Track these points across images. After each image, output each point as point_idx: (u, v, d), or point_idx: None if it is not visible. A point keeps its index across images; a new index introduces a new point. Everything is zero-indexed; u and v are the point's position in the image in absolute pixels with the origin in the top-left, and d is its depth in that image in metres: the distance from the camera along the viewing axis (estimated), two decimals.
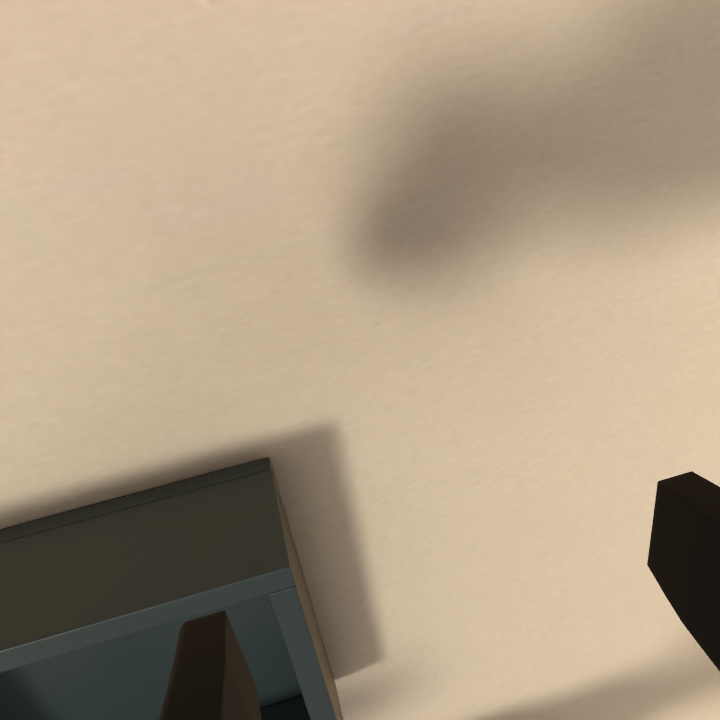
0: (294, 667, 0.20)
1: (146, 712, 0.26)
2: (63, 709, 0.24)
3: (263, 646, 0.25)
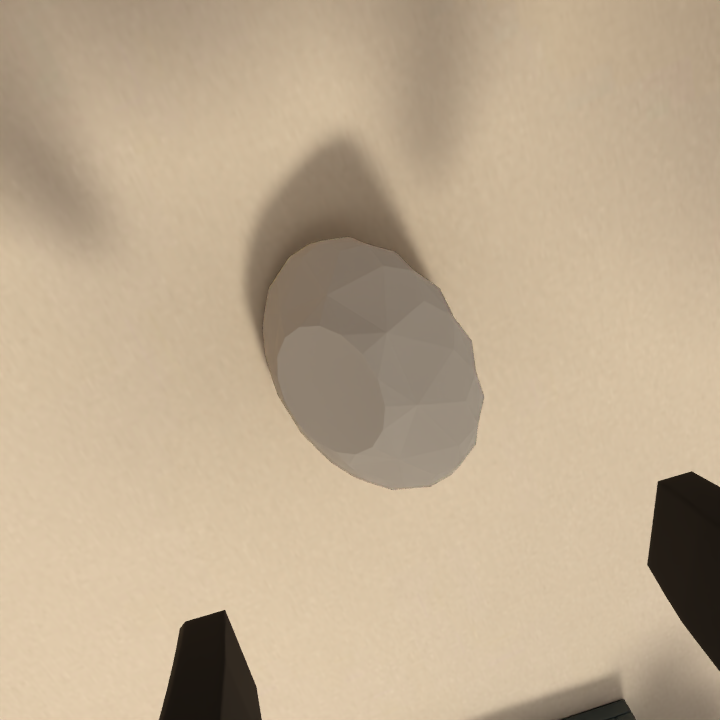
0: None
1: None
2: None
3: None
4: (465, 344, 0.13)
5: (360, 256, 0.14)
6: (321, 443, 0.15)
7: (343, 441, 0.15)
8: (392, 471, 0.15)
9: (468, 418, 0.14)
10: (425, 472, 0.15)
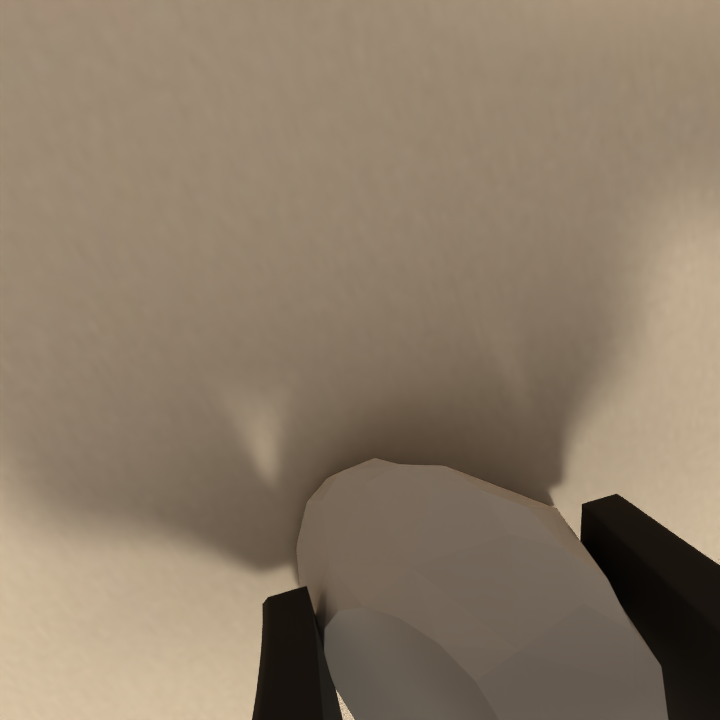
0: None
1: None
2: None
3: None
4: (651, 674, 0.08)
5: (467, 509, 0.08)
6: None
7: None
8: None
9: None
10: None
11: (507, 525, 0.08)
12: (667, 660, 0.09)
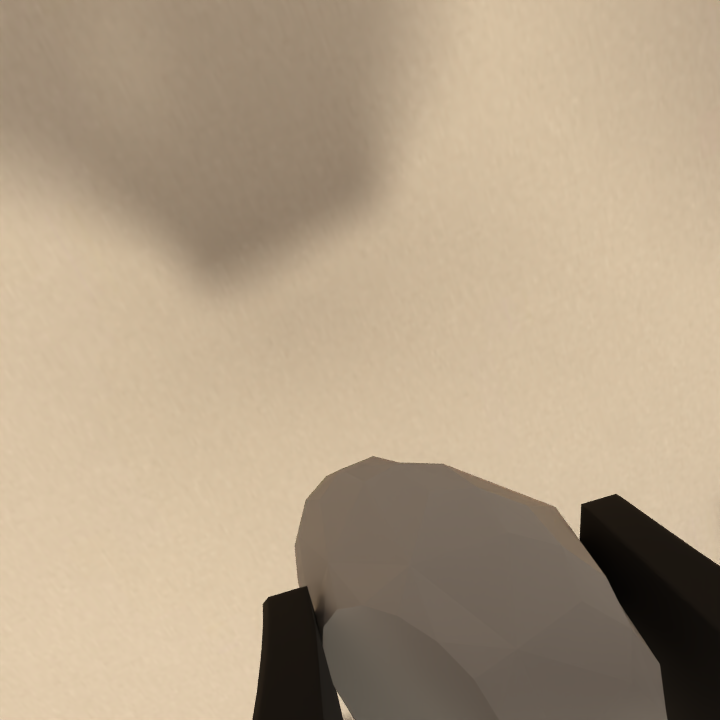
0: None
1: None
2: None
3: None
4: (650, 672, 0.08)
5: (465, 507, 0.08)
6: None
7: None
8: None
9: None
10: None
11: (505, 523, 0.08)
12: (666, 661, 0.09)
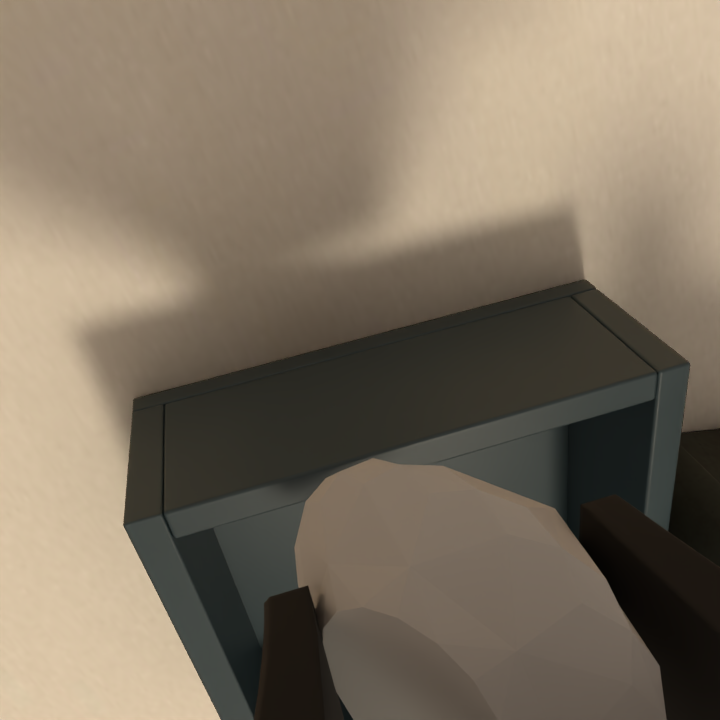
0: None
1: None
2: None
3: None
4: (650, 673, 0.08)
5: (465, 508, 0.08)
6: None
7: None
8: None
9: None
10: None
11: (505, 525, 0.08)
12: (665, 661, 0.09)
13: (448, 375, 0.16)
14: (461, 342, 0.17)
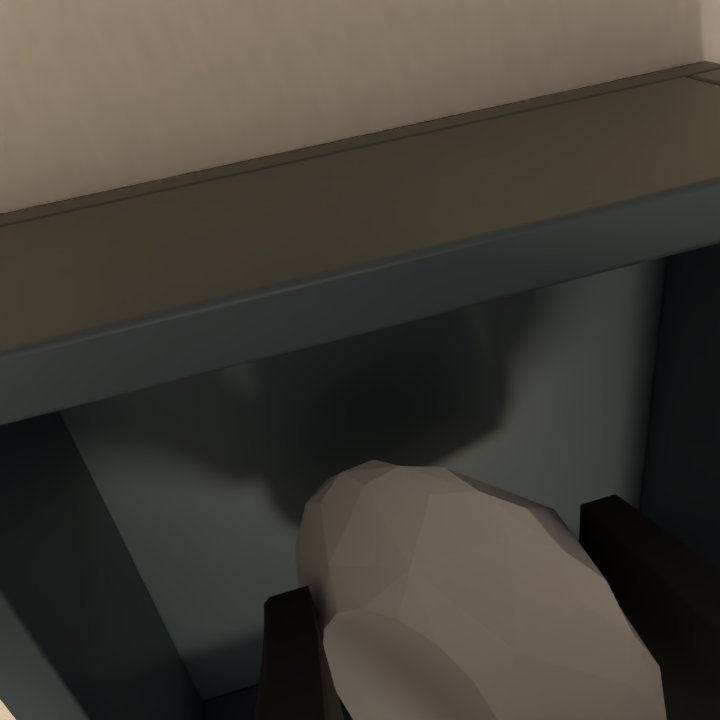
0: (249, 359, 0.07)
1: (568, 443, 0.14)
2: None
3: None
4: (650, 675, 0.08)
5: (466, 510, 0.08)
6: None
7: None
8: None
9: None
10: None
11: (506, 527, 0.08)
12: (665, 661, 0.09)
13: (487, 166, 0.09)
14: (506, 131, 0.10)
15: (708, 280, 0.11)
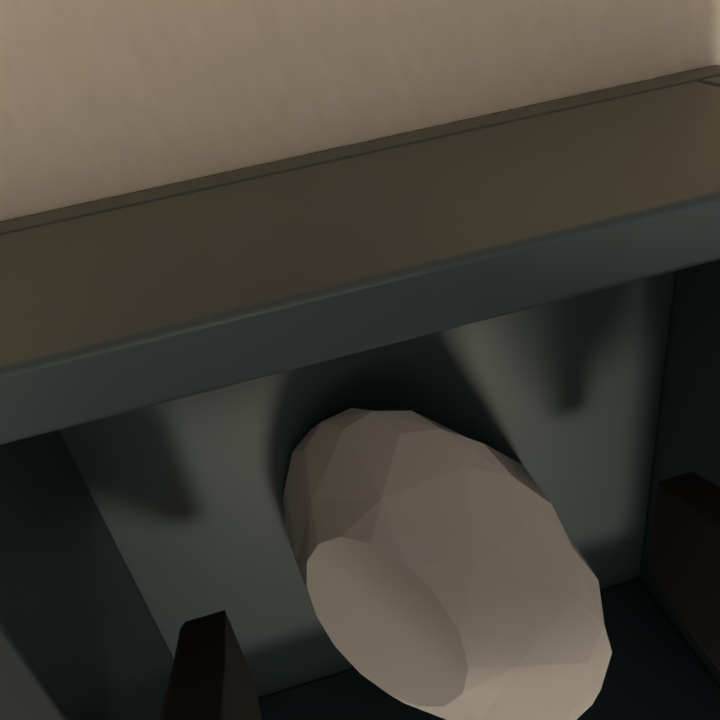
0: (251, 377, 0.07)
1: (574, 453, 0.14)
2: None
3: None
4: (589, 586, 0.09)
5: (430, 446, 0.10)
6: (367, 678, 0.11)
7: (400, 686, 0.11)
8: None
9: (587, 682, 0.10)
10: None
11: (464, 459, 0.09)
12: None
13: (496, 174, 0.08)
14: (514, 138, 0.09)
15: (719, 289, 0.11)
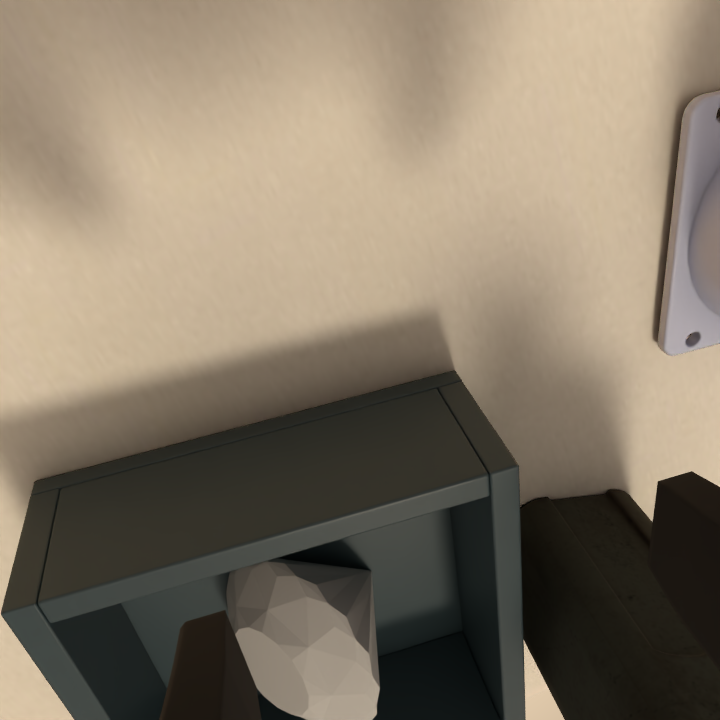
0: (191, 581, 0.16)
1: (403, 562, 0.24)
2: None
3: None
4: (364, 657, 0.19)
5: (291, 584, 0.19)
6: None
7: (282, 703, 0.20)
8: None
9: (369, 703, 0.19)
10: None
11: (306, 592, 0.19)
12: None
13: (311, 469, 0.18)
14: (330, 434, 0.19)
15: None
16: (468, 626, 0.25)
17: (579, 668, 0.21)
